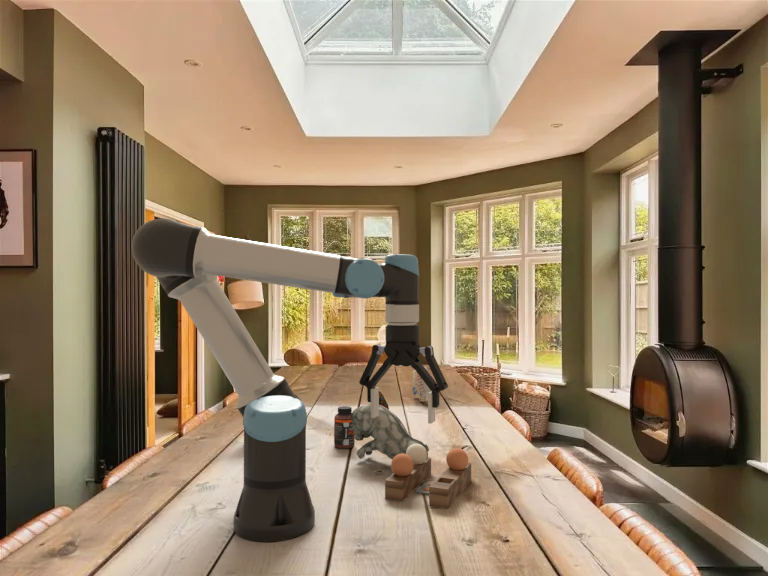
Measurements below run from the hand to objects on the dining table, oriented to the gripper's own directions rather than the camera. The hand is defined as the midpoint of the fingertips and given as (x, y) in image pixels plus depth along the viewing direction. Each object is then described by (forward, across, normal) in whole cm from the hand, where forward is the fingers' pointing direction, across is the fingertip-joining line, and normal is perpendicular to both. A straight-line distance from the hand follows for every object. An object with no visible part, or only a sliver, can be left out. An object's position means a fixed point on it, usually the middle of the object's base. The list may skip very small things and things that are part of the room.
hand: (402, 419), depth 121 cm
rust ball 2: (+10, -10, -9) cm, 17 cm away
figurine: (+16, +11, -18) cm, 26 cm away
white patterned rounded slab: (+16, +31, -99) cm, 105 cm away
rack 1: (+16, 0, -4) cm, 17 cm away
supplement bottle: (+16, +29, -27) cm, 43 cm away
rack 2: (+16, -10, -4) cm, 19 cm away
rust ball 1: (+10, 0, 0) cm, 10 cm away
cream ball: (+10, 0, -9) cm, 13 cm away
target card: (+16, -5, -4) cm, 17 cm away
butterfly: (+16, +31, -59) cm, 69 cm away
